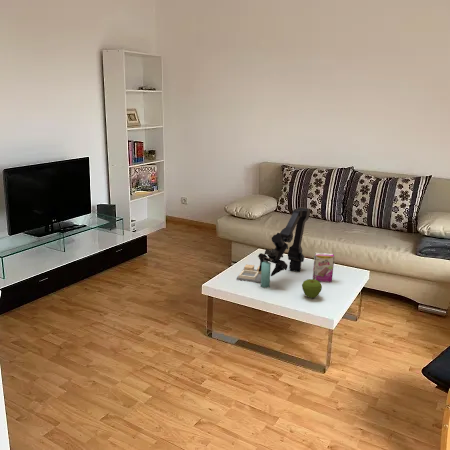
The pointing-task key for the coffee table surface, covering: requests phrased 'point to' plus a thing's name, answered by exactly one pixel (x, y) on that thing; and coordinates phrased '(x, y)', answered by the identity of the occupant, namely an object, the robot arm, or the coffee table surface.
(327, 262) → the candy bar box
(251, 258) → the coffee table surface
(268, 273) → the teal column
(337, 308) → the coffee table surface
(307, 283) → the apple
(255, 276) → the base board
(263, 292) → the coffee table surface
